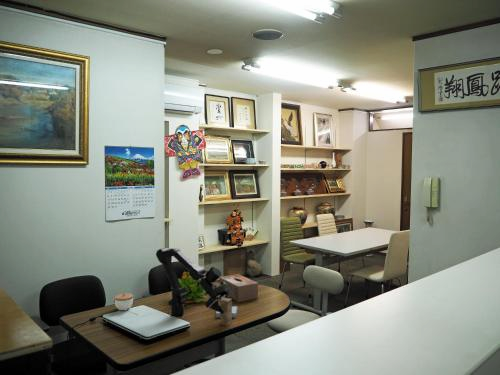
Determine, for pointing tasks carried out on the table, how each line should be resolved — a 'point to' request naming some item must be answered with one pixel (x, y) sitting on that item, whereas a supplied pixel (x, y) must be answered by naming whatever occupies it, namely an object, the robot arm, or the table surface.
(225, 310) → the walnut block
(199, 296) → the potted flower
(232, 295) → the tissue box cover
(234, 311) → the slate base
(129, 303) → the lidded jar
